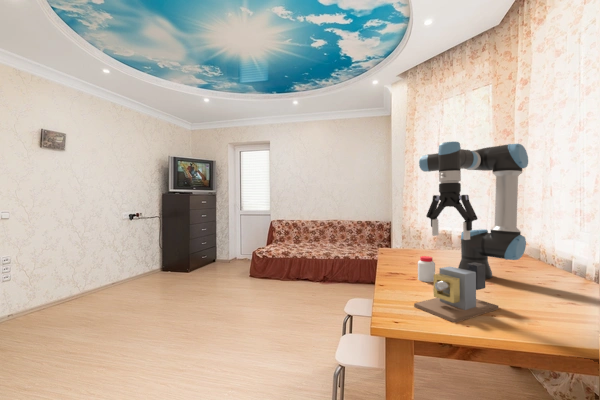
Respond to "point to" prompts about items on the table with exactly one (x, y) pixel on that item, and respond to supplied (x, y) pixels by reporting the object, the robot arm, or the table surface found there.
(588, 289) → the table surface
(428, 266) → the pill bottle
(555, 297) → the table surface
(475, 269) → the shaft
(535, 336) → the table surface
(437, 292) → the frame
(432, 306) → the bearing block
